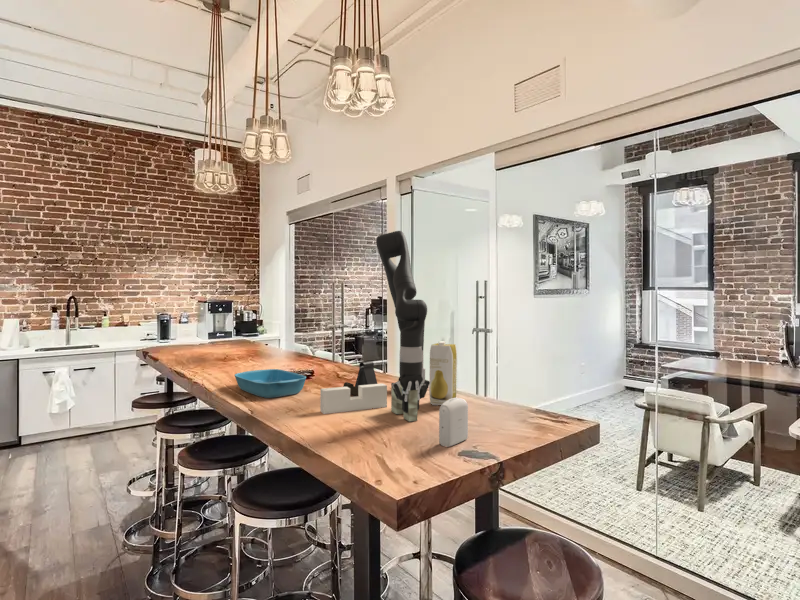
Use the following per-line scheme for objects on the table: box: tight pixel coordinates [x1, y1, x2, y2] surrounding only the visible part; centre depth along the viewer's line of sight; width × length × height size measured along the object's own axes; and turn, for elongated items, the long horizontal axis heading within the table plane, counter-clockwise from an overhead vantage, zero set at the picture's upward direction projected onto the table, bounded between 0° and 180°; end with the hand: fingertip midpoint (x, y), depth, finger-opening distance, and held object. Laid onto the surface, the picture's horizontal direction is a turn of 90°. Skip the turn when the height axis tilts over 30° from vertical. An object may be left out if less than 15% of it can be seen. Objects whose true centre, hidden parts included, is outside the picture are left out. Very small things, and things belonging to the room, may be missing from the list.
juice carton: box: [428, 340, 458, 406], centre depth 174 cm, size 9×8×24 cm
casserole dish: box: [234, 368, 307, 399], centre depth 196 cm, size 37×22×7 cm, turn 42°
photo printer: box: [438, 397, 469, 448], centre depth 130 cm, size 10×4×12 cm, turn 139°
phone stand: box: [354, 360, 378, 388], centre depth 201 cm, size 9×6×12 cm, turn 48°
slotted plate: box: [390, 382, 418, 423], centre depth 156 cm, size 3×14×10 cm, turn 26°
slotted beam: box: [319, 382, 388, 415], centre depth 166 cm, size 24×4×8 cm, turn 116°
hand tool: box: [342, 381, 358, 397], centre depth 187 cm, size 19×4×5 cm, turn 35°
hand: (410, 411), depth 152 cm, fingers closed on slotted plate, 3 cm apart
